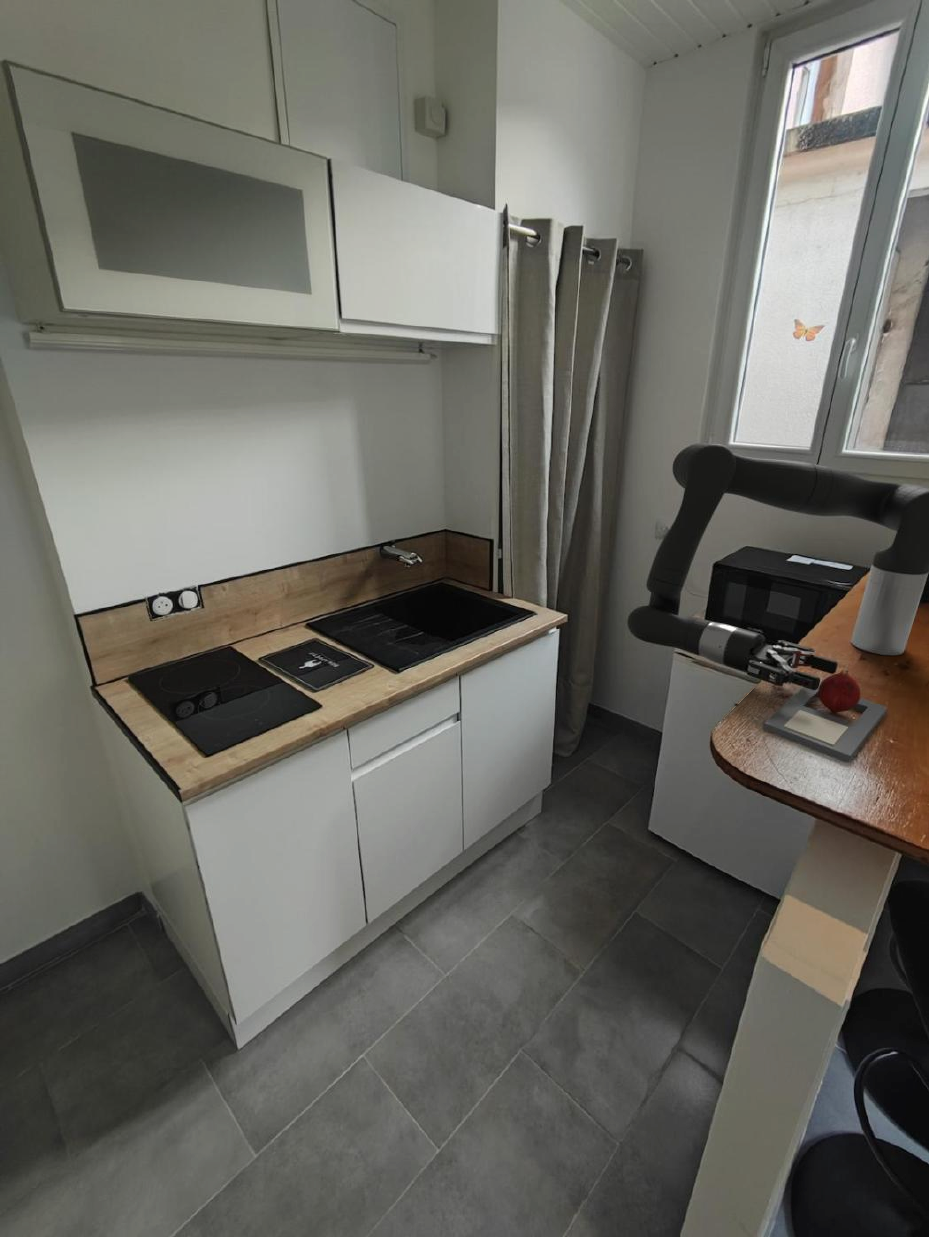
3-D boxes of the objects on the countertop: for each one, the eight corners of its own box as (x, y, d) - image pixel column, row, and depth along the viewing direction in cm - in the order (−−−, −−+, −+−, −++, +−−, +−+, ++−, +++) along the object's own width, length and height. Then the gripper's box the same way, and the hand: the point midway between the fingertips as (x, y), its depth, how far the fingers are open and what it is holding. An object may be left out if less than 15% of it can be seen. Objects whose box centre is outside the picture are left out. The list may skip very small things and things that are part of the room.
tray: (807, 687, 103) (809, 681, 103) (885, 713, 95) (888, 706, 94) (762, 729, 91) (764, 721, 90) (848, 762, 82) (850, 754, 82)
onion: (860, 723, 92) (873, 679, 89) (821, 719, 93) (832, 676, 90) (845, 705, 97) (857, 663, 94) (808, 702, 98) (819, 660, 95)
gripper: (716, 638, 100) (818, 669, 89) (750, 618, 109) (847, 643, 98) (709, 676, 103) (807, 710, 91) (743, 653, 112) (836, 682, 100)
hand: (827, 676), depth 95 cm, fingers open, 8 cm apart
